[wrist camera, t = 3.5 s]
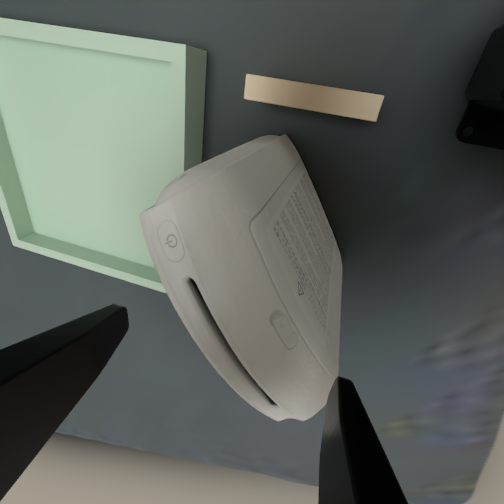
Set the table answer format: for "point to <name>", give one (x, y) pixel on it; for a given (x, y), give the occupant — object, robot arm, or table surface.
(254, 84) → the holder
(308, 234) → the photo printer
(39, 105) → the tray
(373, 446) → the robot arm
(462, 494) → the table surface
